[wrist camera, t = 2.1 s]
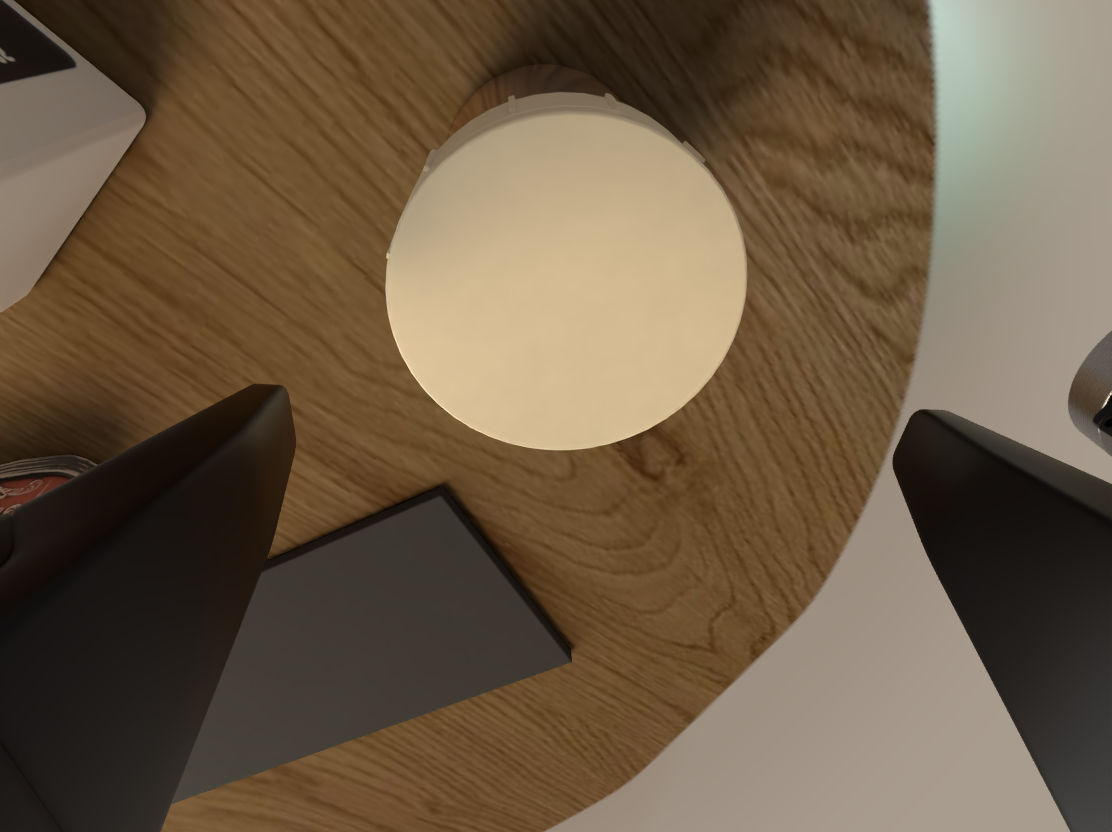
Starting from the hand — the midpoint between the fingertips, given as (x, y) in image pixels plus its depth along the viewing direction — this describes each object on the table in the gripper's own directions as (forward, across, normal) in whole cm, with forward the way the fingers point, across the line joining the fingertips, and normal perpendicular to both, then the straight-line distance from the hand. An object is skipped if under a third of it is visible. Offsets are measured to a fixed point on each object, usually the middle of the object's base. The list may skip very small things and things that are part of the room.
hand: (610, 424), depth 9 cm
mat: (+12, +18, +27) cm, 35 cm away
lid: (+4, 0, 0) cm, 4 cm away
